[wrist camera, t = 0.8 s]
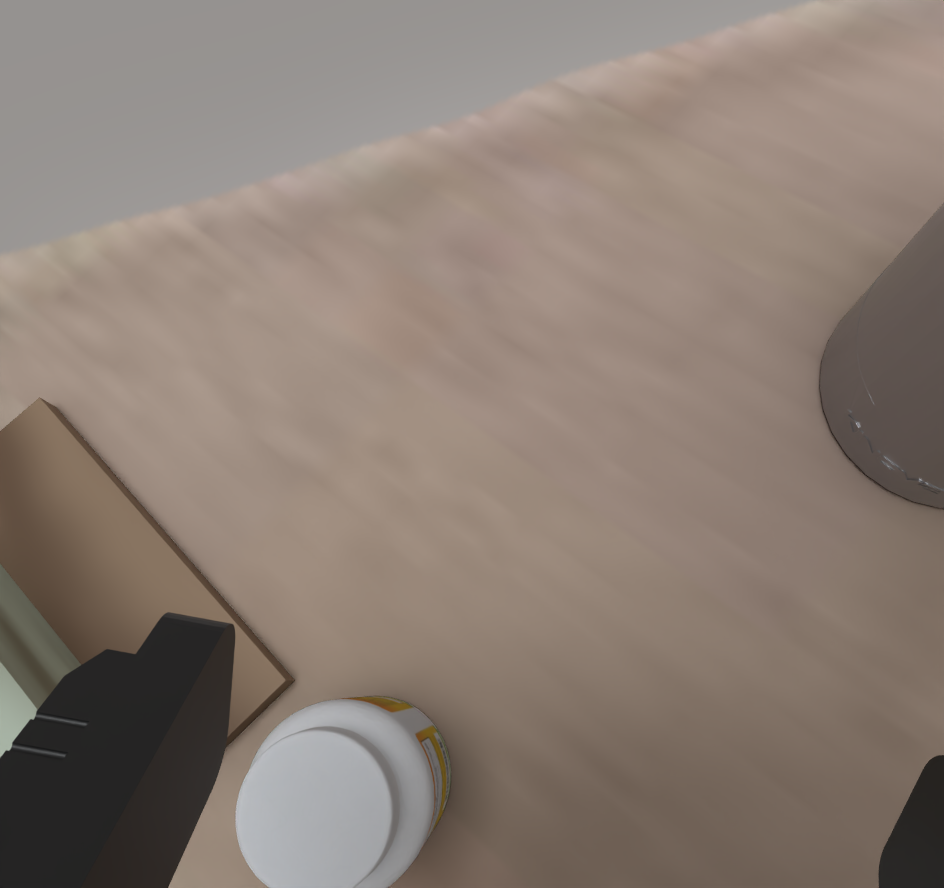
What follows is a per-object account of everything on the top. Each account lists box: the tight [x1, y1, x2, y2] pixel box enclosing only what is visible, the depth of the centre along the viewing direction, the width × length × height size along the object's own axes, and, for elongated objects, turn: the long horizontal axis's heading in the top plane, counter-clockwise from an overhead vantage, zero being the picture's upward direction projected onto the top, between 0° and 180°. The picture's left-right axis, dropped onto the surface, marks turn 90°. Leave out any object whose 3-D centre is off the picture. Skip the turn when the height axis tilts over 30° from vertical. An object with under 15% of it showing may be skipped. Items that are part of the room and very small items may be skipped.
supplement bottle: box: [236, 696, 451, 888], centre depth 26 cm, size 5×5×10 cm
